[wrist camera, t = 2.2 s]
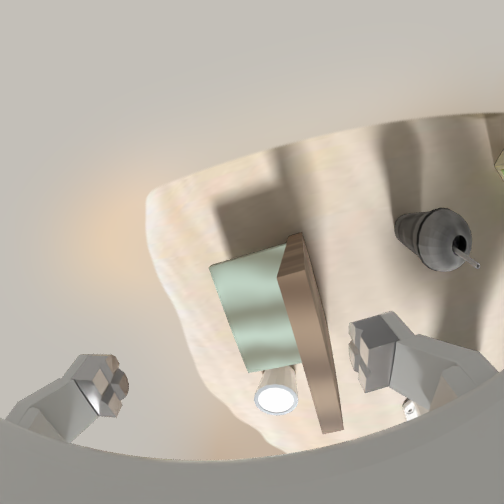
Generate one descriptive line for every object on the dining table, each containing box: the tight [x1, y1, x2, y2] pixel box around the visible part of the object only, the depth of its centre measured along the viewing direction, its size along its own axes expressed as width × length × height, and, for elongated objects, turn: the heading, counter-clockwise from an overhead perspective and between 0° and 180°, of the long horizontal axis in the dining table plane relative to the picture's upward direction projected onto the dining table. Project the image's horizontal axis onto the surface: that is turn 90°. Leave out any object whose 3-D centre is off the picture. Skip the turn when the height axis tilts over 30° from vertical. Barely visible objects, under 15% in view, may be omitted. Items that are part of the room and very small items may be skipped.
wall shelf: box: [209, 232, 344, 434], centre depth 31 cm, size 16×12×22 cm
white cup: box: [254, 366, 298, 415], centre depth 41 cm, size 7×7×7 cm
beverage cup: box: [395, 208, 480, 271], centre depth 27 cm, size 7×7×20 cm
